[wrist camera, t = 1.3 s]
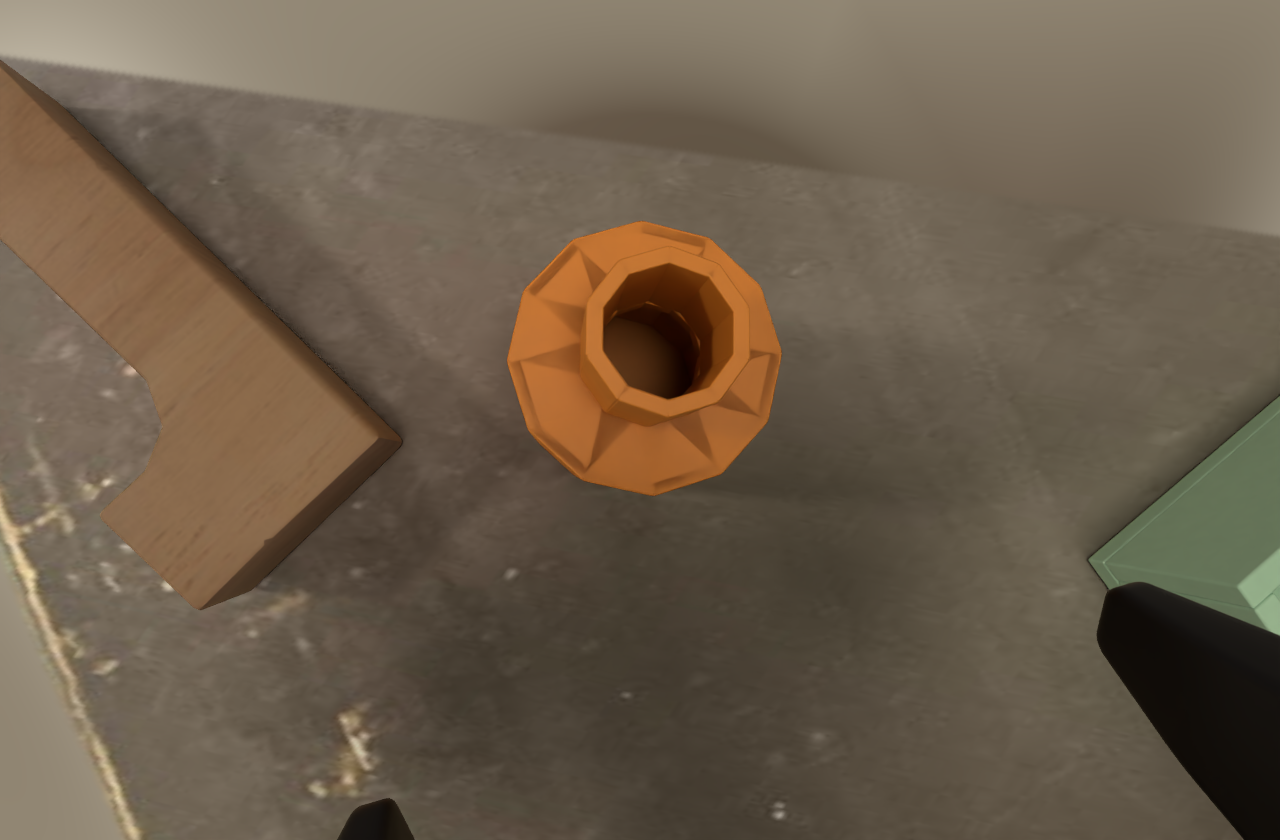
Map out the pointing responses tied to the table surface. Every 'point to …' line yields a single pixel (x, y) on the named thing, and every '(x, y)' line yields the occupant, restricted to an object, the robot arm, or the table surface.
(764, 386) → the bottle
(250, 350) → the wooden block
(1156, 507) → the box
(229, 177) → the table surface
